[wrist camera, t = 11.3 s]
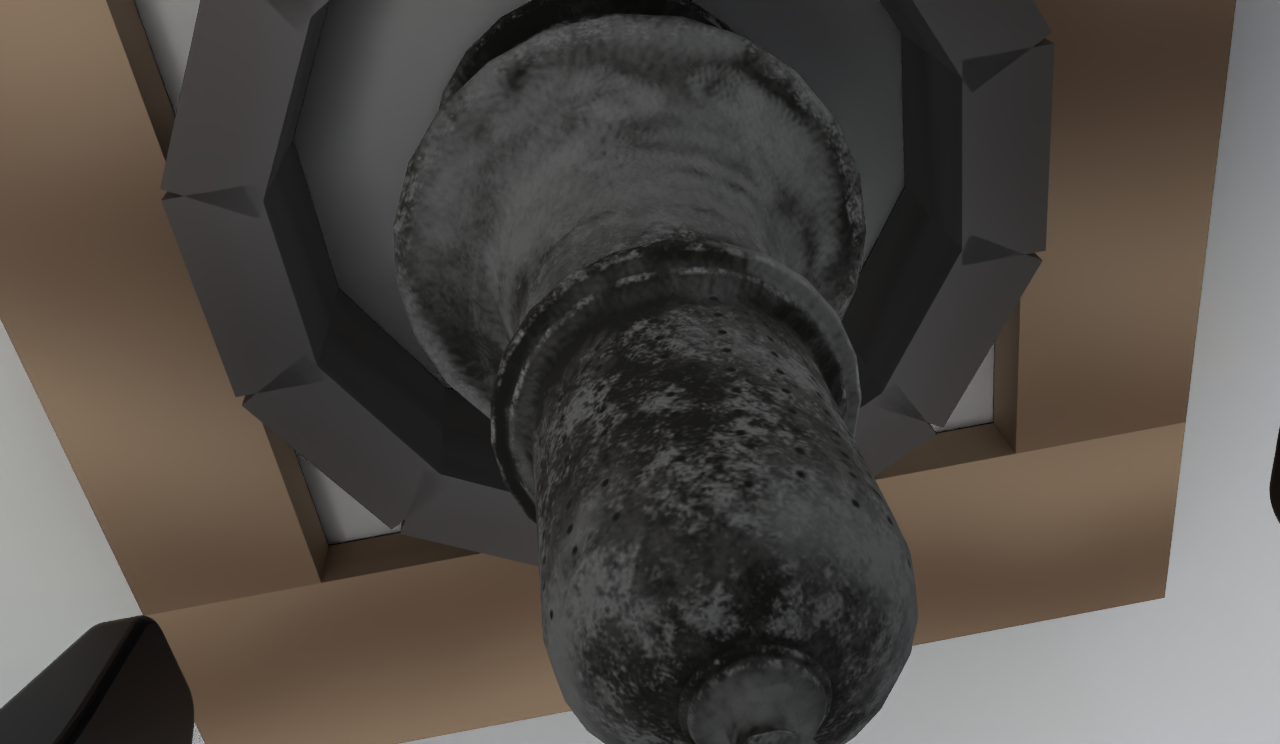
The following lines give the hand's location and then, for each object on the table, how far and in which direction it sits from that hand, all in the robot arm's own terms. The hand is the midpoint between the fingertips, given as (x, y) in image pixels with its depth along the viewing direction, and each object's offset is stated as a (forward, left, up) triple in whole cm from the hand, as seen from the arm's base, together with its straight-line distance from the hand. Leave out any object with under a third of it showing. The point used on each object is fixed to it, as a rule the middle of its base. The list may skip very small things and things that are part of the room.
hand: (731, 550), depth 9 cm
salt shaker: (0, 0, -10) cm, 10 cm away
